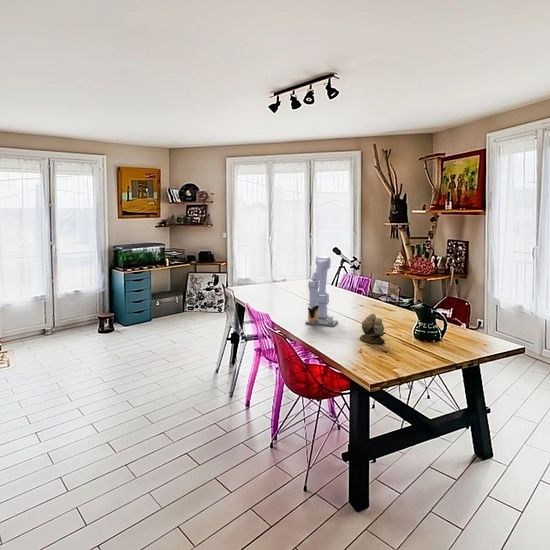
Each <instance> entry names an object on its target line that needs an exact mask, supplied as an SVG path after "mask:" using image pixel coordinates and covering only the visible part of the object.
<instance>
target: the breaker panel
mask: <svg viewBox="0 0 550 550" xmlns="http://www.w3.org/2000/svg"><path fill="white" fill-rule="evenodd" d="M338 322H339V320H335V319H333V323H328V319H326V318H318V319H317V320H316V321H311V320H308V319H307V320H306V321H305V325H309V326H320V327H331V328H335V327H336V325H338Z"/></svg>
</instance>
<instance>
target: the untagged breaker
mask: <svg viewBox="0 0 550 550" xmlns="http://www.w3.org/2000/svg"><path fill="white" fill-rule="evenodd" d="M327 320H328V323H333V320H334V315H328V316H327Z"/></svg>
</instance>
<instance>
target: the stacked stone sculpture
mask: <svg viewBox="0 0 550 550" xmlns="http://www.w3.org/2000/svg"><path fill="white" fill-rule="evenodd" d="M361 328H362V329H361V330H362V333H364V334H362V335H360V337H359V341H361V342H363V343H367V344H370V345H376V344H377V345H382V344H385V342H386V341H385V340H384V339H383V338H382V337H384V335H385V334H386V332H385V326H384V324H383V319H382V318H380V317H377V314H375V313H369V315H368V316H366V317H365V318H364V320H363V321H362V322H361Z"/></svg>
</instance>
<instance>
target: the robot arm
mask: <svg viewBox="0 0 550 550" xmlns="http://www.w3.org/2000/svg"><path fill="white" fill-rule="evenodd" d="M331 263H332V262H331V257H329V256H316V258H315V266H316V268H315V272H313V274H312V276H311V279H310V280H309V281H308V285H307V286H308V291H309V300H308V301H309V303H307V306H309V307H307V310H308V311H309V313H310V317H311V318H314V314H315V310H318V319H326V318H328V316H329V314H328V305H329V303H330V295H329V293H328V292H327V291H326V290H327V280H328V279H327V278H328V271H329V269H330V268H331Z"/></svg>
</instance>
